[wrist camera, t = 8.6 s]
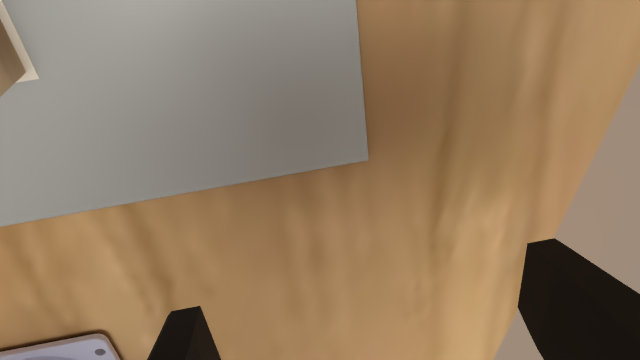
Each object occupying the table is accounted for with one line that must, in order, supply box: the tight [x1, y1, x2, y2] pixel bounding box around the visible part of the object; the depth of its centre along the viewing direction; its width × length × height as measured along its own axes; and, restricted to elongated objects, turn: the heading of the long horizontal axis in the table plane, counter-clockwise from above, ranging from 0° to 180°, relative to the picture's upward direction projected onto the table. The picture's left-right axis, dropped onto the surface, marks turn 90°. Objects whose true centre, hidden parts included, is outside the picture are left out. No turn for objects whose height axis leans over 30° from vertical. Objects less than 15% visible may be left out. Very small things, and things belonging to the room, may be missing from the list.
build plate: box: [0, 0, 369, 227], centre depth 16 cm, size 14×20×1 cm
